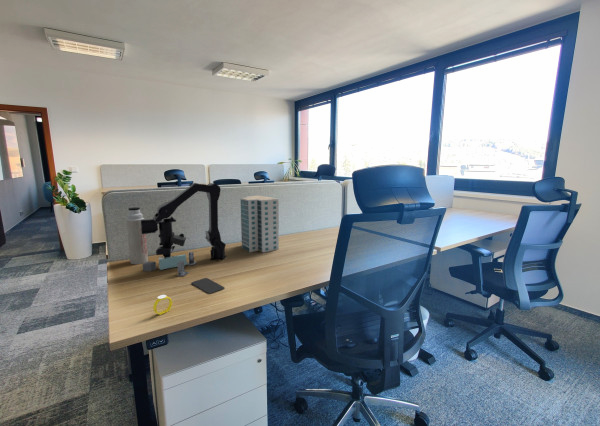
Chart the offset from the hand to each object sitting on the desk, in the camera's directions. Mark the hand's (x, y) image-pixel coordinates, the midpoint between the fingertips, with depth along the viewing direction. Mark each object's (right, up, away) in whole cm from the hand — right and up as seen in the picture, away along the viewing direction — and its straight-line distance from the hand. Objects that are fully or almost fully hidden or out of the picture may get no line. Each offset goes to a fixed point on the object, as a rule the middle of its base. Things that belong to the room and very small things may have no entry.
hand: (168, 262), depth 139 cm
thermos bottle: (-18, -1, +7) cm, 19 cm away
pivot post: (+10, -2, +4) cm, 11 cm away
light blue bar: (+3, -2, -1) cm, 4 cm away
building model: (+39, +3, +32) cm, 51 cm away
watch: (+18, -10, -42) cm, 47 cm away
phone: (+26, -7, -21) cm, 35 cm away
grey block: (+10, -4, -10) cm, 15 cm away
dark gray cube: (-7, -3, -4) cm, 9 cm away
